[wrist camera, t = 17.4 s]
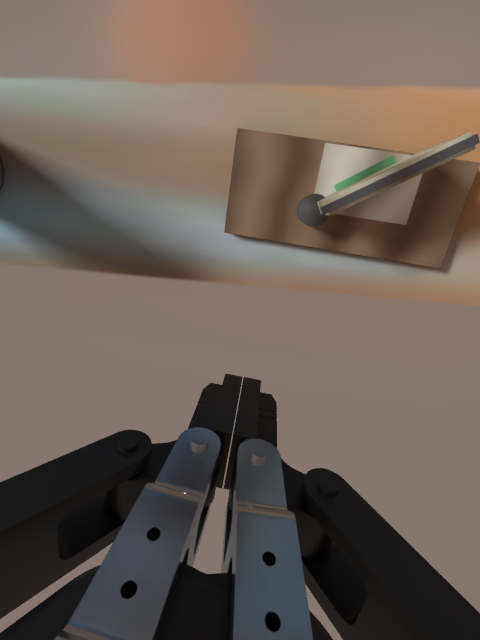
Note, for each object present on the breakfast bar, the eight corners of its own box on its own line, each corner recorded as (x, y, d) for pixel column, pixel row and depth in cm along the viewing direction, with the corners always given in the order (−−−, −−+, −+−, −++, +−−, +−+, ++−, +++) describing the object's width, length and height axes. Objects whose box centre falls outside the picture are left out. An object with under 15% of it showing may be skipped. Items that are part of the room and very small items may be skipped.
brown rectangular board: (227, 231, 38) (223, 232, 35) (240, 132, 34) (236, 127, 32) (432, 265, 36) (442, 269, 34) (469, 165, 32) (482, 162, 30)
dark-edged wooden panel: (303, 229, 34) (310, 238, 25) (292, 202, 33) (296, 201, 24) (424, 173, 31) (483, 160, 22) (416, 142, 30) (473, 115, 21)
